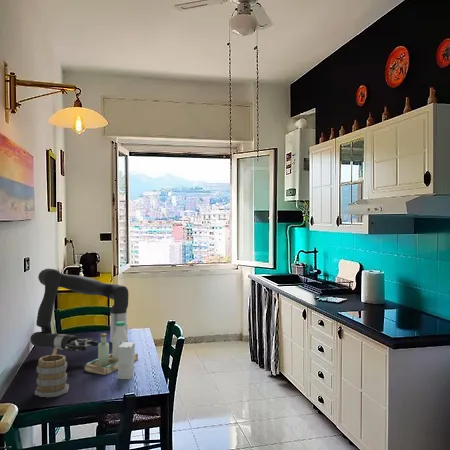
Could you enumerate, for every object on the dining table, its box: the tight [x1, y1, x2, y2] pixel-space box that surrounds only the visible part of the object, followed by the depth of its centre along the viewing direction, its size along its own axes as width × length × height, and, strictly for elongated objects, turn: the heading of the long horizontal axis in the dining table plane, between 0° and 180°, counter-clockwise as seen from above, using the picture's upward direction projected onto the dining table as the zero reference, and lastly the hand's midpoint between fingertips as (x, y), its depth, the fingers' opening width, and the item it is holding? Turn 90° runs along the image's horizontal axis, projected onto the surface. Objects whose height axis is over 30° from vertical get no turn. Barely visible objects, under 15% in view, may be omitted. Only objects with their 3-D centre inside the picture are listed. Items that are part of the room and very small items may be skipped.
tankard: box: [34, 348, 70, 398], centre depth 190 cm, size 20×13×15 cm, turn 12°
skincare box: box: [117, 341, 136, 380], centre depth 205 cm, size 8×6×15 cm
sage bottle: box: [97, 332, 110, 367], centre depth 216 cm, size 5×5×17 cm
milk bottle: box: [111, 321, 129, 359], centre depth 227 cm, size 8×8×20 cm
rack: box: [84, 353, 139, 376], centre depth 221 cm, size 25×12×3 cm, turn 156°
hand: (91, 346), depth 219 cm, fingers open, 8 cm apart
